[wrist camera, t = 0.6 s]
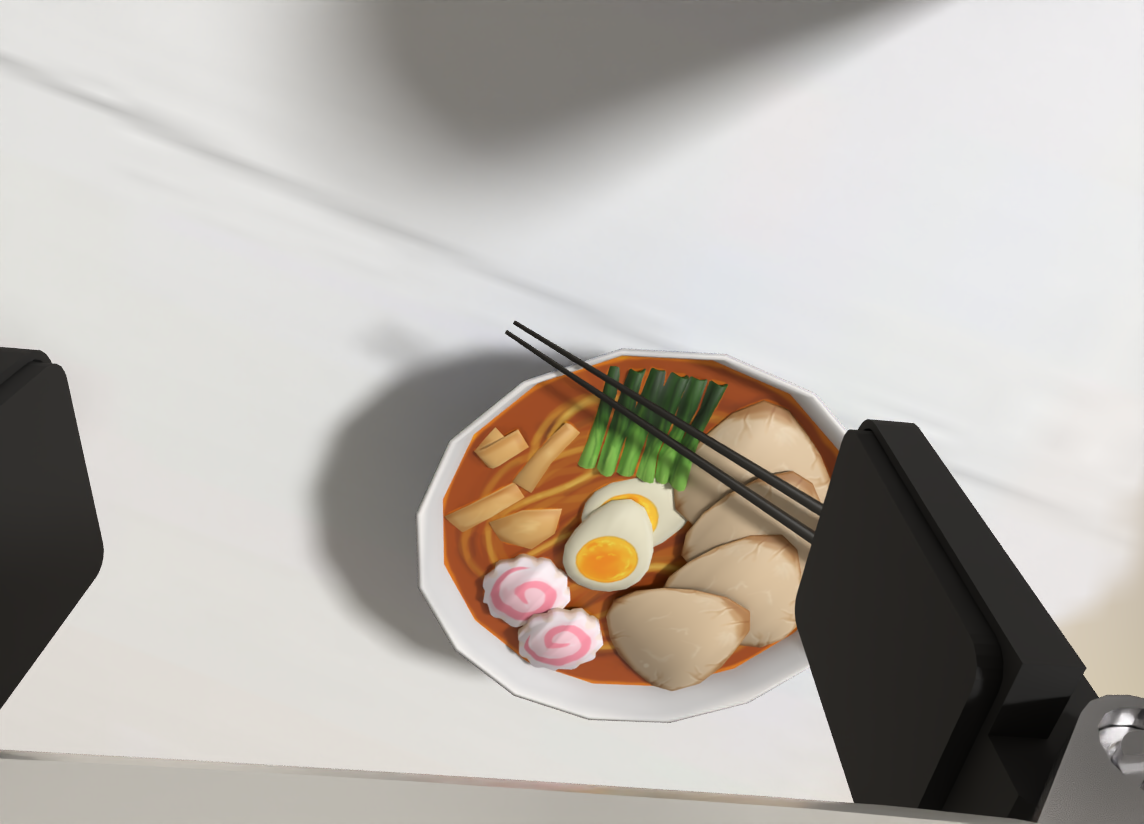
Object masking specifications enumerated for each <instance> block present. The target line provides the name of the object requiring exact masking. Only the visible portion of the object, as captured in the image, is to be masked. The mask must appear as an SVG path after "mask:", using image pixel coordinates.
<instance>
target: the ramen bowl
mask: <svg viewBox="0 0 1144 824" xmlns="http://www.w3.org/2000/svg"><path fill="white" fill-rule="evenodd" d="M513 324H514V325H516V326H517V327H519V328H520V329H522V330H524V331H525V332H527V333H528V334H530V335H532V336H533V337H535V338H536V339H538V340H540V341H541V342H543V343H544V344H546V345H548V346H549V347H551V348H552V349H554V350H555V351H557V352H559V353H560V354H562V355H563V356H565V357H567V358H568V359H570V360H571V361H573V362H575V363H576V364H573V365H570V366H567V367H563V366H561V365H560V364H558V363H557V362H555V361H554V360H552V359H551V358H549V357H548V356H546V355H545V354H543V353H541V352H540V351H538V350H537V349H535V348H534V347H532V346H531V345H529V344H528V343H526V342H525V341H523V340H522V339H520V338H519V337H517V336H515V335H514V334H512V333H511V332H509V331H508V330H507V331H506V332H505V334H507V335H508V336H509V337H511V338H512V339H514V340H515V341H517V342H518V343H520V344H521V345H523V346H524V347H525V348H527V349H528V350H530V351H531V352H533V353H534V354H536V355H537V356H539V357H540V358H541V359H543V360H544V361H546V362H547V363H549V364H550V365H552V366H553V367H555V368H556V369H557V370H555V371H552V372H549V373H546V374H543V375H540V376H537V377H533V378H531V379H528V380H525V381H523V382H522V383H520V384H519V385H518V386H517V387H515V388H514V389H513V390H512V391H510V392H509V393H508V394H507V395H506V396H504V397H503V398H502V399H501V400H499V401H498V402H497V403H496V404H494V405H493V406H492V407H491V408H489V409H488V410H487V411H486V412H485V413H483V414H482V415H481V416H480V417H478V418H477V419H476V420H475V421H473V422H472V423H471V424H470V425H469V426H467V427H466V428H465V429H464V430H462V431H461V432H460V433H459V434H457V435H456V436H455V437H454V438H452V439H451V440H450V442H449V444H448V446H447V448H446V450H445V452H444V454H443V457H442V459H441V461H440V463H439V465H438V467H437V470H436V472H435V474H434V476H433V478H432V480H431V482H430V485H429V487H428V489H427V491H426V493H425V495H424V498H423V500H422V502H421V504H420V506H419V508H418V510H417V513H416V538H417V567H418V588H419V590H420V592H421V593H422V595H423V597H424V598H425V600H426V602H427V604H428V605H429V607H430V609H431V610H432V612H433V614H434V616H435V617H436V619H437V621H438V622H439V624H440V626H441V628H442V629H443V631H444V633H445V634H446V636H447V638H448V640H449V641H450V643H451V645H452V646H453V648H454V650H455V651H457V652H458V653H459V654H460V655H462V656H463V657H464V658H466V659H467V660H468V661H470V662H471V663H472V664H473V665H475V666H476V667H477V668H479V669H480V670H481V671H483V672H484V673H485V674H486V675H488V676H489V677H490V678H492V679H493V680H494V681H496V682H497V683H498V684H499V685H501V686H502V687H503V688H505V689H506V690H507V691H509V692H510V693H511V694H512V695H514V696H517V697H520V698H523V699H526V700H529V701H532V702H535V703H538V704H541V705H544V706H548V707H551V708H554V709H557V710H560V711H563V712H566V713H569V714H572V715H575V716H579V717H582V718H585V719H588V720H608V721H635V722H661V723H671V722H675V721H679V720H683V719H687V718H691V717H695V716H699V715H703V714H707V713H711V712H715V711H718V710H722V709H726V708H730V707H734V706H738V705H742V704H746V703H749V702H751V701H753V700H754V699H756V698H758V697H760V696H761V695H763V694H765V693H766V692H768V691H770V690H772V689H773V688H775V687H777V686H779V685H780V684H782V683H784V682H785V681H787V680H789V679H791V678H792V677H794V676H796V675H798V674H799V673H801V672H803V671H804V670H806V669H808V668H810V666H809V663H808V660H807V657H806V654H805V651H804V647H803V644H802V641H801V638H800V635H799V632H798V629H797V626H796V621H795V600H796V595H797V591H798V588H799V584H800V581H801V578H802V574H803V571H804V568H805V564H806V561H807V557H808V554H809V551H810V547H811V544H812V540H813V537H814V534H815V530H816V527H817V524H818V520H819V517H820V513H821V510H822V507H823V503H824V500H825V496H826V493H827V490H828V486H829V483H830V480H831V476H832V473H833V469H834V466H835V463H836V459H837V456H838V452H839V449H840V446H841V442H842V440H843V437H844V435H845V433H846V432H847V430H846V428H845V427H844V426H843V425H842V424H841V423H840V421H839V420H838V419H837V418H836V417H835V415H834V414H833V413H832V412H831V411H830V410H829V408H828V407H827V406H826V405H825V404H824V402H823V401H822V400H821V399H820V398H819V397H818V395H817V394H816V393H813V392H811V391H809V390H807V389H804V388H802V387H800V386H797V385H795V384H793V383H791V382H788V381H786V380H784V379H782V378H779V377H777V376H775V375H772V374H770V373H768V372H766V371H763V370H761V369H759V368H756V367H754V366H752V365H750V364H747V363H745V362H743V361H741V360H738V359H736V358H734V357H731V356H729V355H727V354H715V353H696V352H678V351H659V350H640V349H619V350H616V351H613V352H610V353H606V354H603V355H600V356H597V357H594V358H591V359H588V360H585V361H582V360H581V359H579V358H577V357H576V356H574V355H572V354H571V353H569V352H567V351H566V350H564V349H562V348H561V347H559V346H557V345H556V344H554V343H552V342H550V341H549V340H547V339H545V338H544V337H542V336H540V335H539V334H537V333H535V332H534V331H532V330H530V329H529V328H527V327H525V326H524V325H522V324H520V323H519V322H517V321H514V323H513Z"/></svg>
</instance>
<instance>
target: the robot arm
mask: <svg viewBox="0 0 1144 824" xmlns="http://www.w3.org/2000/svg"><path fill="white" fill-rule="evenodd" d="M103 553H104V548H103V541H102V537H101V532H100V528H99V523H98V518H97V514H96V509H95V505H94V500H93V496H92V491H91V486H90V482H89V477H88V473H87V468H86V464H85V459H84V454H83V450H82V445H81V441H80V436H79V432H78V427H77V422H76V418H75V413H74V409H73V404H72V399H71V395H70V390H69V386H68V381H67V377H66V374H65V371H64V370H63V369H62V367H61V366H59V365H58V364H52V363H51V360H50V359H49V357H48V356H47V355H46V354H45V353H44V352H42V351H40V350H30V349H18V348H6V347H0V709H1V708H2V706H3V705H4V703H5V702H6V701H7V699H8V698H9V697H10V695H11V694H12V692H13V691H14V690H15V688H16V687H17V686H18V684H19V683H20V681H21V680H22V679H23V677H24V676H25V675H26V673H27V672H28V670H29V669H30V668H31V666H32V665H33V664H34V662H35V661H36V659H37V658H38V657H39V655H40V654H41V652H42V651H43V650H44V648H45V647H46V646H47V644H48V643H49V641H50V640H51V639H52V637H53V636H54V635H55V633H56V632H57V630H58V629H59V628H60V626H61V625H62V624H63V622H64V621H65V619H66V618H67V617H68V615H69V614H70V613H71V611H72V610H73V608H74V607H75V606H76V604H77V603H78V601H79V600H80V599H81V597H82V596H83V595H84V593H85V592H86V590H87V589H88V588H89V586H90V585H91V584H92V582H93V581H94V579H95V578H96V576H97V575H98V573H99V571H100V568H101V565H102V561H103ZM795 621H796V626H797V629H798V632H799V635H800V638H801V641H802V644H803V647H804V651H805V654H806V657H807V660H808V663H809V666H810V669H811V672H812V675H813V678H814V681H815V684H816V687H817V690H818V693H819V697H820V700H821V703H822V706H823V709H824V712H825V715H826V718H827V721H828V724H829V727H830V730H831V733H832V736H833V740H834V743H835V746H836V749H837V752H838V755H839V758H840V761H841V764H842V767H843V770H844V773H845V776H846V779H847V783H848V786H849V789H850V792H851V795H852V798H853V801H854V803H845V802H831V801H817V800H805V799H793V798H781V797H768V796H754V795H738V794H723V793H708V792H693V791H678V790H663V789H648V788H632V787H617V786H602V785H587V784H572V783H557V782H541V781H526V780H511V779H495V778H479V777H462V776H446V775H430V774H413V773H397V772H381V771H364V770H348V769H331V768H314V767H298V766H281V765H264V764H247V763H230V762H213V761H196V760H180V759H161V758H143V757H125V756H106V755H88V754H70V753H52V752H33V751H15V750H0V824H1144V698H1140V697H1136V696H1131V695H1105V696H1103V697H1100V698H1099V697H1098V696H1097V694H1096V693H1095V691H1094V690H1093V688H1092V687H1091V685H1090V684H1089V682H1088V681H1087V680H1086V678H1085V677H1084V675H1083V673H1084V671H1085V670H1086V667H1085V665H1084V664H1083V662H1082V661H1081V659H1080V658H1079V657H1078V655H1077V654H1076V652H1075V651H1074V649H1073V648H1072V646H1071V645H1070V644H1069V642H1068V641H1067V639H1066V638H1065V636H1064V635H1063V634H1062V632H1061V631H1060V629H1059V628H1058V626H1057V625H1056V624H1055V622H1054V621H1053V619H1052V618H1051V616H1050V615H1049V614H1048V612H1047V611H1046V609H1045V608H1044V606H1043V605H1042V603H1041V602H1040V601H1039V599H1038V598H1037V596H1036V595H1035V593H1034V592H1033V591H1032V589H1031V588H1030V586H1029V585H1028V583H1027V582H1026V581H1025V579H1024V578H1023V576H1022V575H1021V573H1020V572H1019V571H1018V569H1017V568H1016V566H1015V565H1014V563H1013V562H1012V561H1011V559H1010V558H1009V556H1008V555H1007V553H1006V552H1005V550H1004V549H1003V548H1002V546H1001V545H1000V543H999V542H998V540H997V539H996V538H995V536H994V535H993V533H992V532H991V530H990V529H989V528H988V526H987V525H986V523H985V522H984V520H983V519H982V518H981V516H980V515H979V513H978V512H977V510H976V509H975V508H974V506H973V505H972V503H971V502H970V500H969V499H968V497H967V496H966V495H965V493H964V492H963V490H962V489H961V487H960V486H959V485H958V483H957V482H956V480H955V479H954V477H953V476H952V475H951V473H950V472H949V470H948V469H947V467H946V466H945V465H944V463H943V462H942V460H941V459H940V457H939V456H938V455H937V453H936V452H935V450H934V449H933V447H932V446H931V444H930V443H929V442H928V440H927V439H926V437H925V436H924V434H923V433H922V432H921V430H920V429H919V427H918V426H916V425H915V424H914V423H906V422H894V421H882V420H870V419H867V420H865V421H864V422H863V423H862V424H861V425H860V427H859V429H858V430H851V429H850V430H848V431H847V432H846V433H845V435H844V437H843V440H842V442H841V446H840V449H839V452H838V456H837V459H836V463H835V466H834V469H833V473H832V476H831V480H830V483H829V486H828V490H827V493H826V496H825V500H824V503H823V507H822V510H821V513H820V517H819V520H818V524H817V527H816V530H815V534H814V537H813V540H812V544H811V547H810V551H809V554H808V557H807V561H806V564H805V568H804V571H803V574H802V578H801V581H800V584H799V588H798V591H797V595H796V600H795Z"/></svg>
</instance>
